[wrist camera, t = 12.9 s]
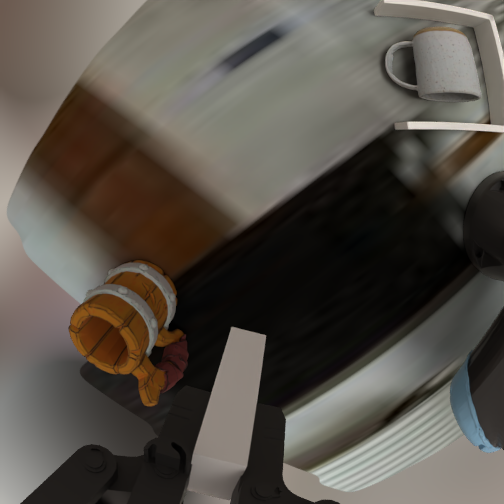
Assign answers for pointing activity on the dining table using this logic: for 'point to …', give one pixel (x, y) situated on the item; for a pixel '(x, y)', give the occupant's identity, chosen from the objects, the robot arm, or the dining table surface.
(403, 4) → the white u-shaped bracket
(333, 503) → the robot arm
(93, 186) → the dining table surface
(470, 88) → the ceramic mug
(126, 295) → the mug
